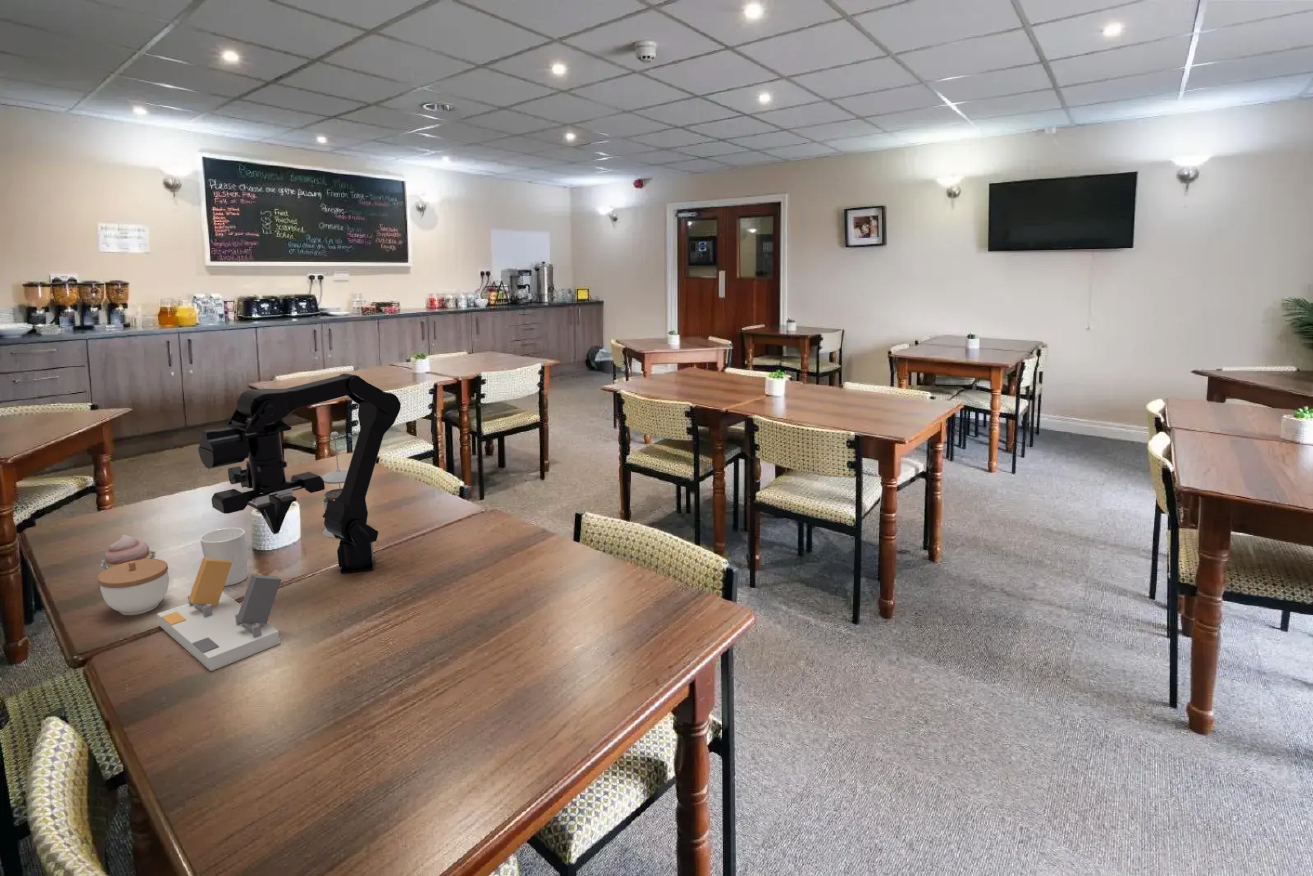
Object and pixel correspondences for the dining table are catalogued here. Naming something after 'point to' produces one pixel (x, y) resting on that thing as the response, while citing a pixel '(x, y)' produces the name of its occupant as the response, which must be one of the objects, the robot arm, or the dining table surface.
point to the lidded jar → (135, 585)
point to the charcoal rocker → (258, 600)
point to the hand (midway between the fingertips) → (275, 533)
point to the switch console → (216, 632)
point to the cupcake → (126, 552)
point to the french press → (333, 478)
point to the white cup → (227, 551)
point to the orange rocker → (209, 582)
